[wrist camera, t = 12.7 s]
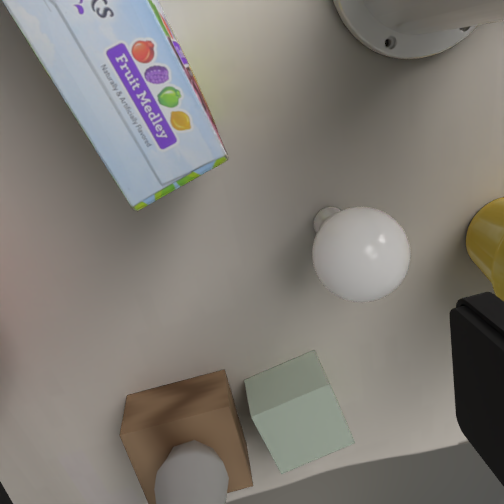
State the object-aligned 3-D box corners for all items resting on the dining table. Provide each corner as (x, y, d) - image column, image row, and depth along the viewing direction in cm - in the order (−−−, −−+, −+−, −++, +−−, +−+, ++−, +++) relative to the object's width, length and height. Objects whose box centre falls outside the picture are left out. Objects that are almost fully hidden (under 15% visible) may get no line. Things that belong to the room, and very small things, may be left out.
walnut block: (224, 369, 42) (229, 406, 37) (246, 444, 45) (253, 485, 41) (127, 395, 42) (119, 435, 37) (156, 468, 45) (152, 513, 40)
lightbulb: (275, 209, 37) (308, 261, 27) (343, 166, 37) (403, 202, 27) (312, 270, 40) (356, 337, 30) (377, 230, 39) (444, 285, 29)
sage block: (314, 349, 43) (329, 383, 38) (338, 405, 45) (355, 442, 41) (244, 379, 43) (251, 417, 38) (271, 433, 45) (281, 474, 41)
